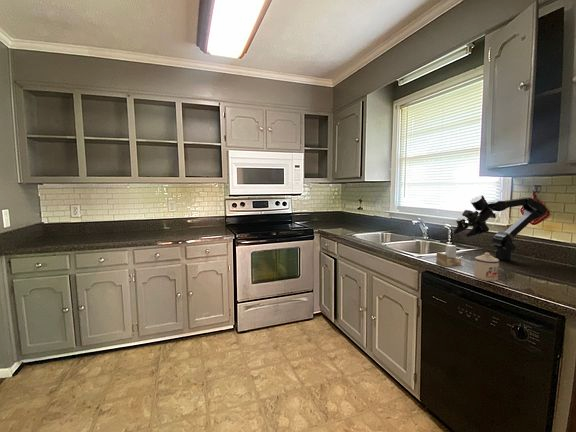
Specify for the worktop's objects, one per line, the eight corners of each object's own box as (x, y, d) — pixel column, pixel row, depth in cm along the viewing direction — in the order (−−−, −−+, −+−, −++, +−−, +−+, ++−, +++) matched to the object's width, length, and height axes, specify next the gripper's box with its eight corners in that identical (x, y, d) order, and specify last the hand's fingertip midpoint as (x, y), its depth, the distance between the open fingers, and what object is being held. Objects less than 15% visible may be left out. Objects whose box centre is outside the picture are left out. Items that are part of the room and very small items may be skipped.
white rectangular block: (451, 262, 152) (452, 244, 151) (455, 264, 149) (456, 245, 148) (444, 263, 151) (445, 245, 150) (449, 264, 148) (450, 246, 147)
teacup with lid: (488, 282, 120) (490, 256, 119) (468, 276, 129) (470, 251, 128) (507, 279, 124) (509, 253, 123) (487, 273, 133) (489, 249, 132)
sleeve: (452, 261, 154) (452, 251, 153) (461, 264, 148) (461, 253, 148) (436, 263, 152) (436, 252, 151) (444, 266, 146) (445, 254, 145)
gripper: (461, 204, 162) (441, 221, 162) (487, 206, 144) (464, 225, 143) (471, 219, 164) (451, 236, 163) (498, 223, 145) (476, 242, 145)
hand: (460, 234), depth 154 cm, fingers open, 9 cm apart
